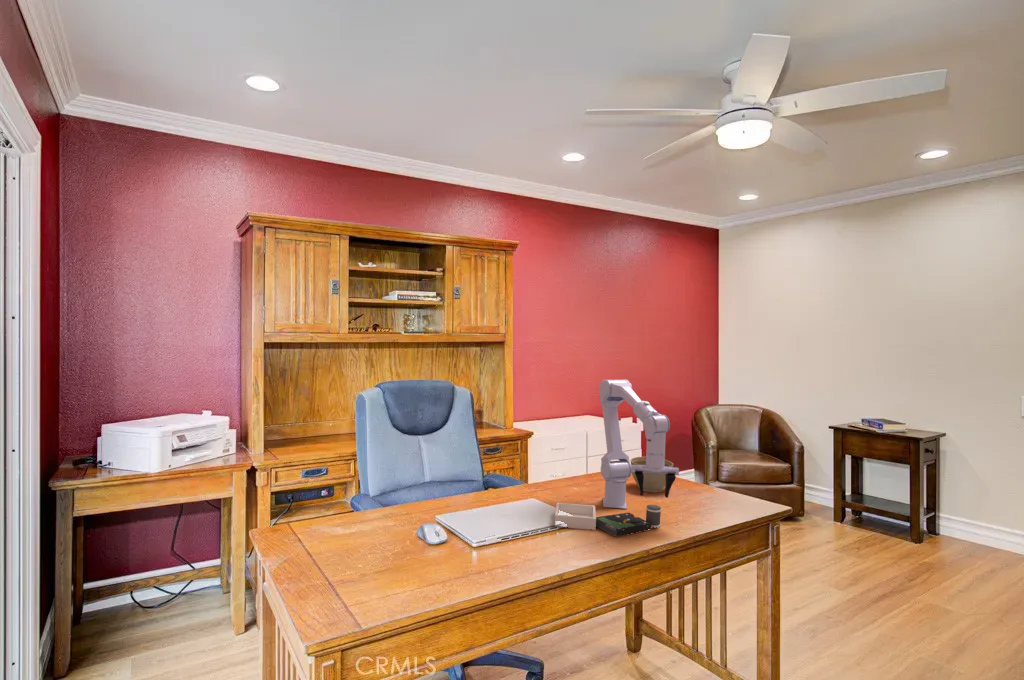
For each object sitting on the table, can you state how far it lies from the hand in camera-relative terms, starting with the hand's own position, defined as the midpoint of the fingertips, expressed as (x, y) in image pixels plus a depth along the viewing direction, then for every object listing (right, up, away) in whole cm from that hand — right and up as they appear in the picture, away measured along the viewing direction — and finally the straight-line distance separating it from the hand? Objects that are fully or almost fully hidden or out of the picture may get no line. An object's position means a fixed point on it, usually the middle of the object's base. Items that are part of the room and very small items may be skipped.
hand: (653, 495), depth 178 cm
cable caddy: (-25, -9, +1) cm, 26 cm away
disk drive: (-11, -10, -3) cm, 15 cm away
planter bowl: (+9, -9, +41) cm, 42 cm away
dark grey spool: (0, -10, 0) cm, 10 cm away
